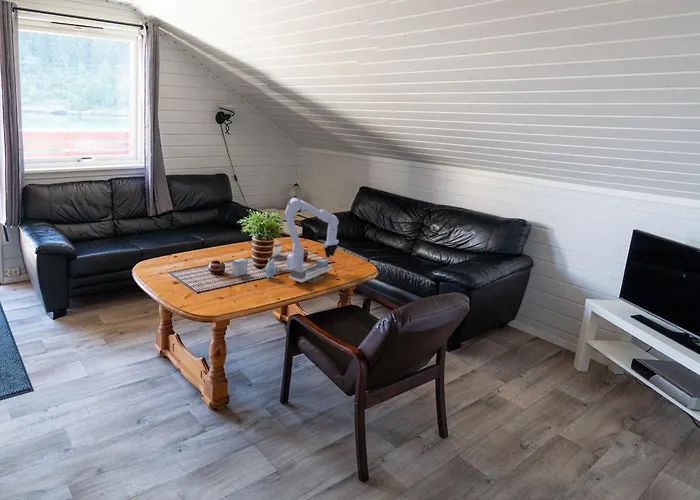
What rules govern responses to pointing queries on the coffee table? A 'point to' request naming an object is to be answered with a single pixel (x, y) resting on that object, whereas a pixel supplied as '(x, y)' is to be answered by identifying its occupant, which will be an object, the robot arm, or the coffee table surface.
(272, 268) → the toy figure
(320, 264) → the rider
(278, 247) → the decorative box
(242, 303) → the coffee table surface
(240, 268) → the medicine box
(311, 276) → the balance beam
